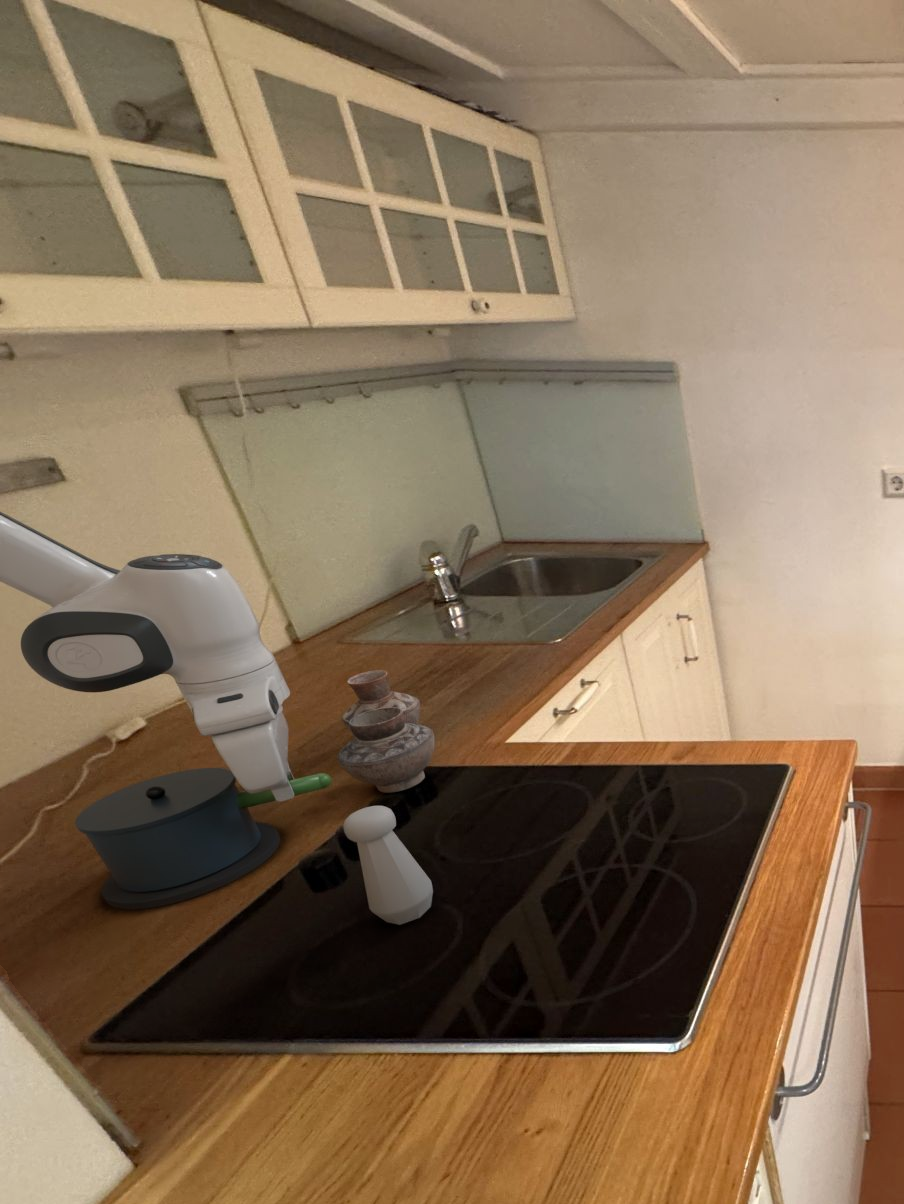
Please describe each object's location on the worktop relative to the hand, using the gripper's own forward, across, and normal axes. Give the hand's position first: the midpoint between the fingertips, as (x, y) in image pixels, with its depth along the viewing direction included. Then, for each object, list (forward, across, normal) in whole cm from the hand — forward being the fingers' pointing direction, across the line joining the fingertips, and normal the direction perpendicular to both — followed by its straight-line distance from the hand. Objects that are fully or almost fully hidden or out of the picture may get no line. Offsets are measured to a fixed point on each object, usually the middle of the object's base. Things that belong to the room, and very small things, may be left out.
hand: (286, 792), depth 96 cm
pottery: (+7, -15, +11) cm, 20 cm away
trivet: (+7, -1, -11) cm, 13 cm away
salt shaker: (+7, +26, +9) cm, 29 cm away
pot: (+5, -1, -6) cm, 8 cm away
